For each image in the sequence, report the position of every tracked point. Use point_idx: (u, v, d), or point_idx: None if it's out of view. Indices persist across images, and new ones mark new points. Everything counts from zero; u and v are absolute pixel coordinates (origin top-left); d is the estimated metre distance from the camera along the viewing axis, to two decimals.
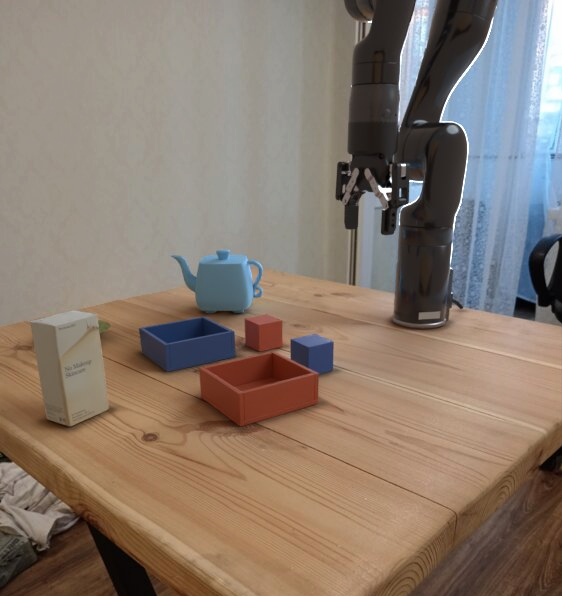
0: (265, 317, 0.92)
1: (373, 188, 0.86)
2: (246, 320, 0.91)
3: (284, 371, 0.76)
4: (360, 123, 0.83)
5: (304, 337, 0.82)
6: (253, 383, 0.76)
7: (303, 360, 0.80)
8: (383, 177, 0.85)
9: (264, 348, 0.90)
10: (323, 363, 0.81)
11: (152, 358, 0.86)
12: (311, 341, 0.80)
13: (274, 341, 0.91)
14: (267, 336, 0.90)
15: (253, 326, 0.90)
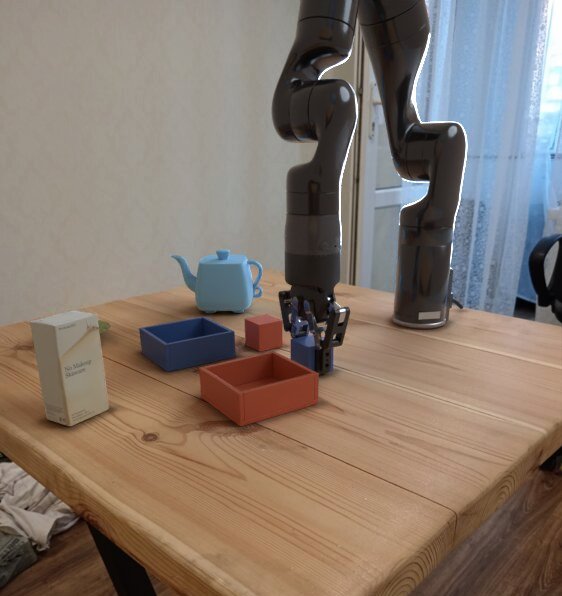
0: (265, 317, 0.92)
1: (309, 323, 0.78)
2: (246, 320, 0.91)
3: (284, 371, 0.76)
4: (295, 255, 0.74)
5: (304, 337, 0.82)
6: (253, 383, 0.76)
7: (303, 360, 0.80)
8: (323, 311, 0.76)
9: (264, 348, 0.90)
10: None
11: (152, 358, 0.86)
12: (311, 341, 0.80)
13: (274, 341, 0.91)
14: (267, 336, 0.90)
15: (253, 326, 0.90)
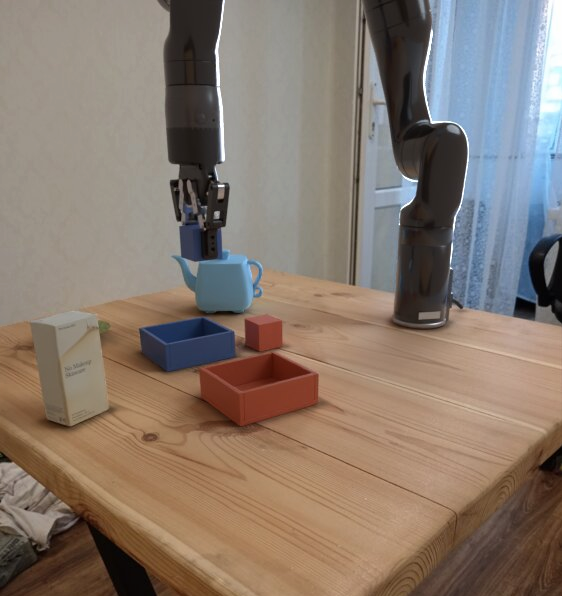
0: (265, 317, 0.92)
1: (193, 204, 0.77)
2: (246, 320, 0.91)
3: (284, 371, 0.76)
4: (173, 129, 0.73)
5: (194, 225, 0.81)
6: (253, 383, 0.76)
7: (190, 244, 0.79)
8: (205, 190, 0.75)
9: (264, 348, 0.90)
10: None
11: (152, 358, 0.86)
12: (198, 227, 0.80)
13: (274, 341, 0.91)
14: (267, 336, 0.90)
15: (253, 326, 0.90)
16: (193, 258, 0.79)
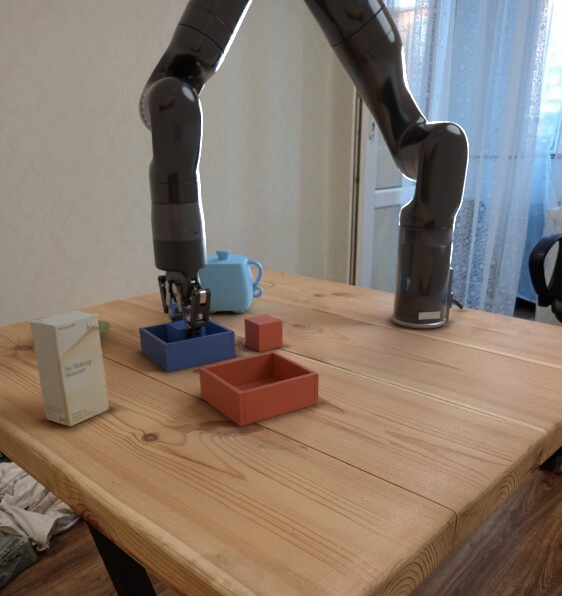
0: (265, 317, 0.92)
1: (178, 305, 0.84)
2: (246, 320, 0.91)
3: (284, 371, 0.76)
4: (159, 241, 0.80)
5: (180, 321, 0.88)
6: (253, 383, 0.76)
7: None
8: (188, 294, 0.82)
9: (264, 348, 0.90)
10: None
11: (152, 358, 0.86)
12: (184, 325, 0.86)
13: (274, 341, 0.91)
14: (267, 336, 0.90)
15: (253, 326, 0.90)
16: None
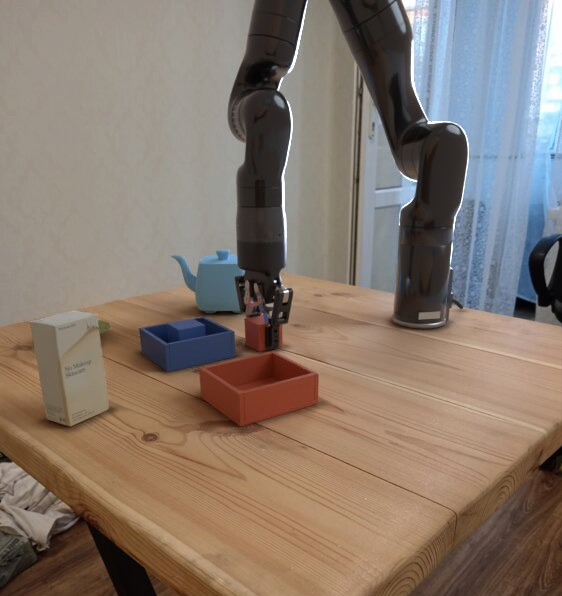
0: None
1: (259, 303, 0.88)
2: (246, 320, 0.91)
3: (284, 371, 0.76)
4: (244, 243, 0.84)
5: (180, 321, 0.88)
6: (253, 383, 0.76)
7: None
8: (270, 293, 0.86)
9: (264, 348, 0.90)
10: None
11: (152, 358, 0.86)
12: (184, 325, 0.86)
13: None
14: None
15: (253, 326, 0.90)
16: None
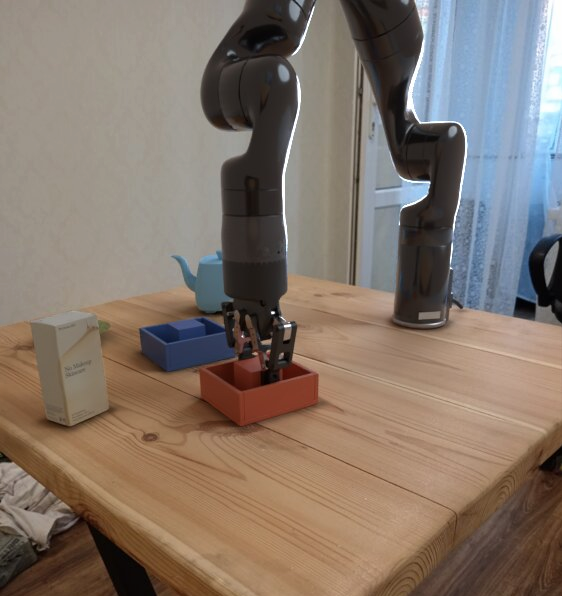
0: None
1: (252, 341, 0.67)
2: (236, 365, 0.71)
3: (284, 371, 0.76)
4: (232, 263, 0.63)
5: (180, 321, 0.88)
6: None
7: None
8: (267, 328, 0.66)
9: None
10: None
11: (152, 358, 0.86)
12: (184, 325, 0.86)
13: None
14: None
15: (245, 374, 0.69)
16: None
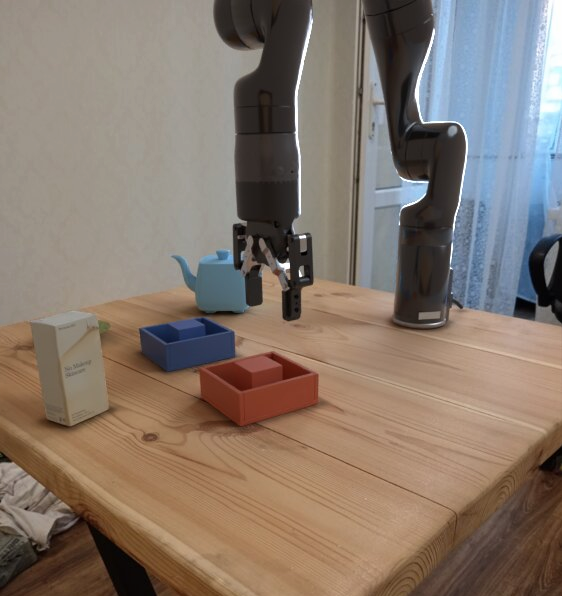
0: (260, 361, 0.72)
1: (270, 263, 0.67)
2: (236, 365, 0.71)
3: (284, 371, 0.76)
4: (246, 183, 0.64)
5: (180, 321, 0.88)
6: None
7: None
8: (281, 250, 0.66)
9: None
10: None
11: (152, 358, 0.86)
12: (184, 325, 0.86)
13: None
14: None
15: (245, 374, 0.69)
16: None
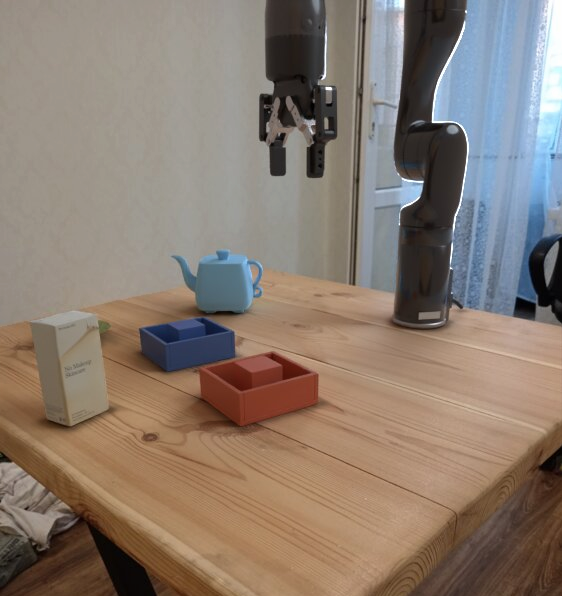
0: (260, 361, 0.72)
1: (296, 120, 0.71)
2: (236, 365, 0.71)
3: (284, 371, 0.76)
4: (276, 38, 0.68)
5: (180, 321, 0.88)
6: None
7: None
8: (307, 106, 0.70)
9: None
10: None
11: (152, 358, 0.86)
12: (184, 325, 0.86)
13: None
14: None
15: (245, 374, 0.69)
16: None
